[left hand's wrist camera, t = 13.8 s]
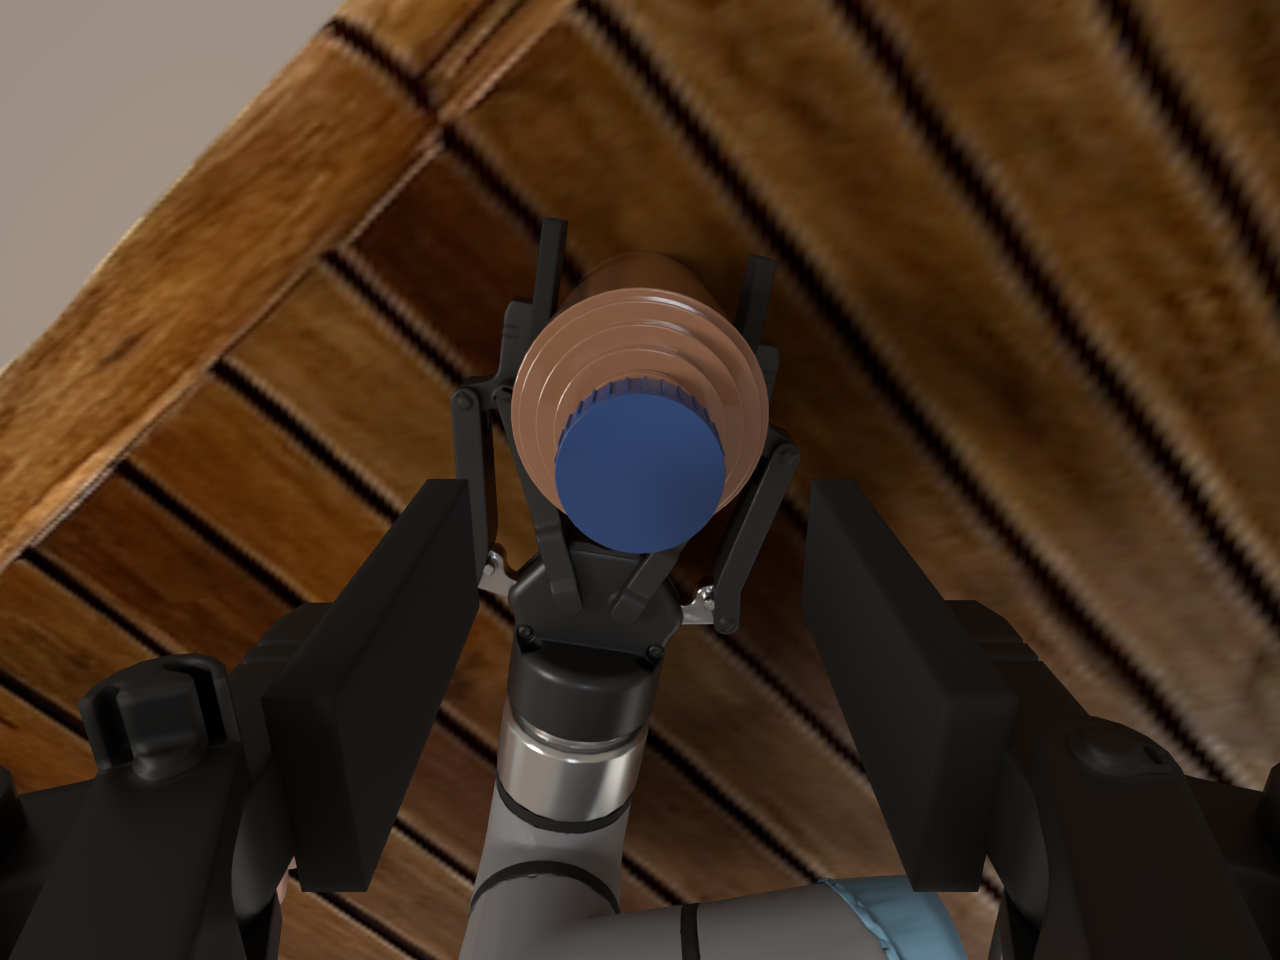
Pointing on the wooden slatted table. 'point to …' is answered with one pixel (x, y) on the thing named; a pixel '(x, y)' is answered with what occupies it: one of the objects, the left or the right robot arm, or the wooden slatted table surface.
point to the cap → (640, 466)
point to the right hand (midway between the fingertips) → (660, 239)
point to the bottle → (639, 362)
